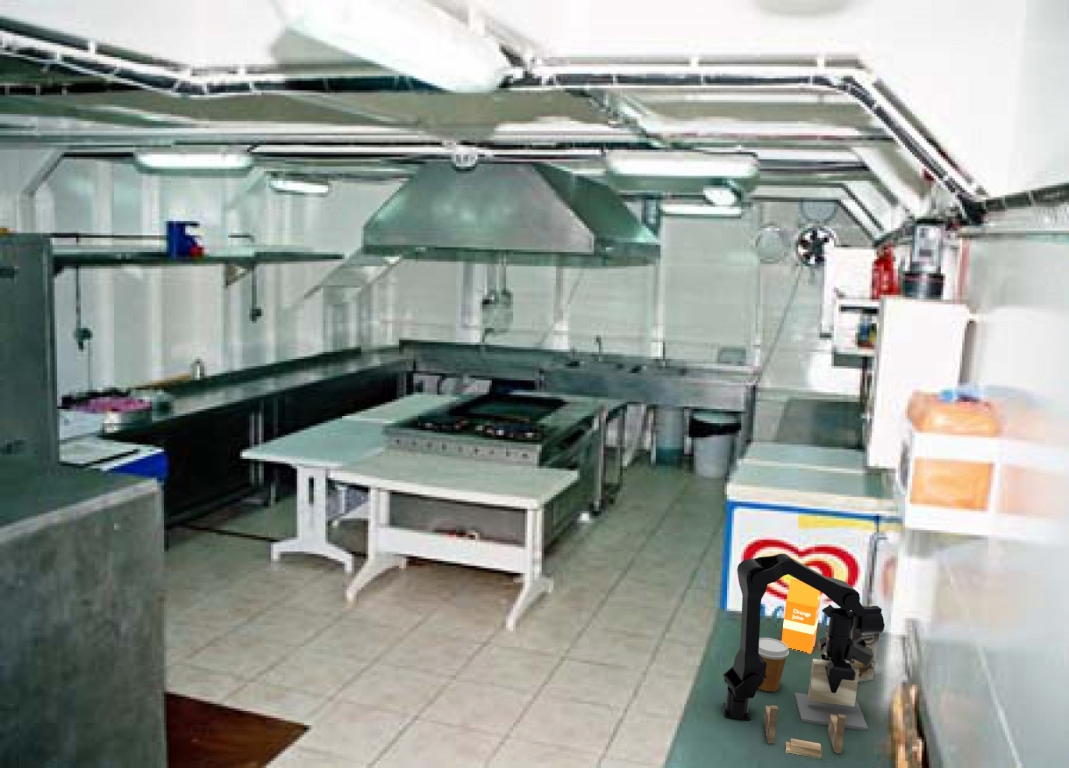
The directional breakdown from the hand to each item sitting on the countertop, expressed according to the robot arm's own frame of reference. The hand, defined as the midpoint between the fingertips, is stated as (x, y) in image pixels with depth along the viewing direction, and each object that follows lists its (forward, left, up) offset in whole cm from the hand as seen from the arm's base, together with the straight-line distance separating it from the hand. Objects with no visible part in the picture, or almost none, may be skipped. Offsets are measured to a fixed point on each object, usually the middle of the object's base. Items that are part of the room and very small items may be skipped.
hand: (832, 689), depth 237 cm
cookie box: (-23, +10, -6) cm, 26 cm away
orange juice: (-40, -3, -6) cm, 41 cm away
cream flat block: (0, 0, -3) cm, 3 cm away
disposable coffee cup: (-10, -15, -6) cm, 19 cm away
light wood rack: (+15, -9, -6) cm, 19 cm away
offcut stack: (+22, -9, -7) cm, 25 cm away
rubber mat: (0, 0, -6) cm, 6 cm away
